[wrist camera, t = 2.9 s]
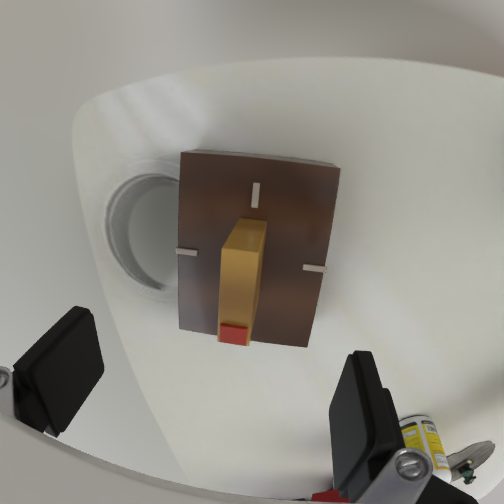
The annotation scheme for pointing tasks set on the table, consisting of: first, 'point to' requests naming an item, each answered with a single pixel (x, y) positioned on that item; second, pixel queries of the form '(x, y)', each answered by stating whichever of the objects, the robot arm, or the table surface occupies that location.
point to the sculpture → (469, 461)
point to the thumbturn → (240, 281)
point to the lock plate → (276, 242)
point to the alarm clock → (329, 496)
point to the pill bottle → (426, 443)
